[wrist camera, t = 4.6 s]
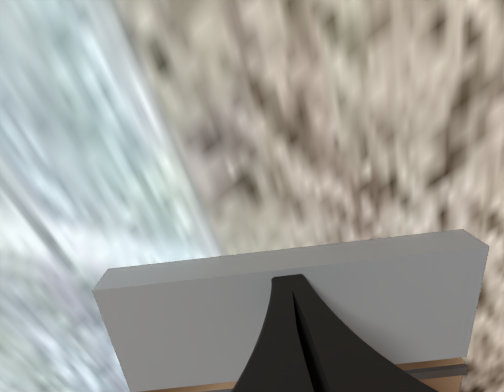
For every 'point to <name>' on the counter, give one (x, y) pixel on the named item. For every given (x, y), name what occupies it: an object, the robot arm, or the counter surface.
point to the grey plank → (258, 296)
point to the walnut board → (428, 372)
